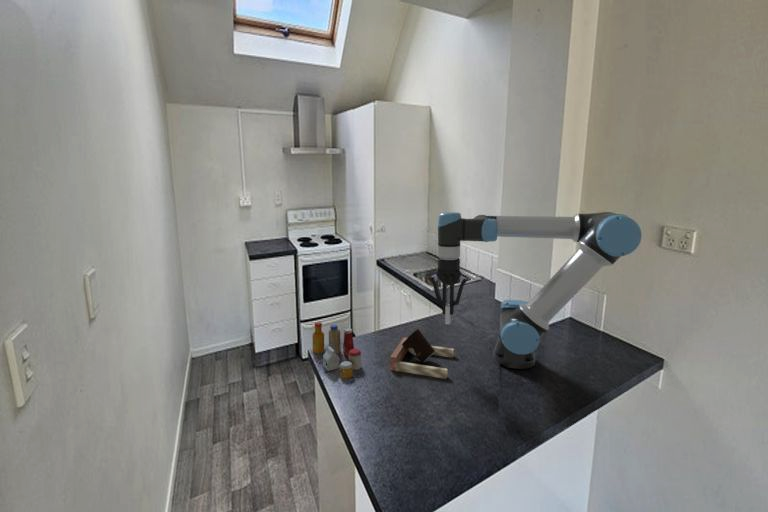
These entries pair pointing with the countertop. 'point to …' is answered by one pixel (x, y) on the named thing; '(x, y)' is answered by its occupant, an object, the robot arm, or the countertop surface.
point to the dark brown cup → (418, 346)
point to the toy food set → (337, 350)
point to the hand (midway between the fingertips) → (447, 322)
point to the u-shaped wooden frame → (417, 368)
